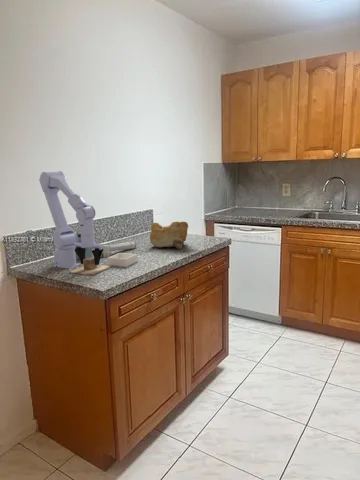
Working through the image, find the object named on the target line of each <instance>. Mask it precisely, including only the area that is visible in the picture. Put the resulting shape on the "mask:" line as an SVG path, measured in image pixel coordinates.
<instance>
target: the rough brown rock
mask: <svg viewBox="0 0 360 480" xmlns="http://www.w3.org/2000/svg"><path fill="white" fill-rule="evenodd" d="M188 229H189V223H188V222H186V221H173V222H171V224H169V225H167V226H162V225H161V224H160V223H158V222H152V223H151V227H150V233H149V242H150V244H151V245H152V246H154V247H156V248H171V247H174V248H175V249H179V250H181V249H182V248H183V246H185V242H186V240H187V237H188V236H187V235H188Z"/></svg>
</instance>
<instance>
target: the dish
mask: <svg viewBox="0 0 360 480" xmlns="http://www.w3.org/2000/svg"><path fill="white" fill-rule="evenodd" d="M138 258H139V257H138V254H137V253H130V252H129V253H125V252H117V253H116V254H113V255H110V256H109V257H107V266H111V267H112V266H113V267H123V268H124V267H125V268H127V267H129V266H132V265H134V264H135V263H137V262H138V261H139V259H138Z"/></svg>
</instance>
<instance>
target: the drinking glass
mask: <svg viewBox="0 0 360 480" xmlns="http://www.w3.org/2000/svg"><path fill="white" fill-rule="evenodd" d="M76 235H77V237H78V243H82V242H81V232H80V233H76ZM75 249H76V248H75ZM92 250H93V249H91V248H86V251H85V259H86V258H88V257H91V258H94V256H93V253H92ZM75 255H76V260H80V259H79V257H78V255H77V253H76V252H75Z"/></svg>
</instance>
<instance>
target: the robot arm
mask: <svg viewBox="0 0 360 480" xmlns="http://www.w3.org/2000/svg"><path fill="white" fill-rule="evenodd" d="M38 181H39V183H40V187H41V189H42V192H43V193H44V196H45V201H46V202H47V205H48V208H49V212H50V214H51V217H52V220H53V224H54V226H55V230H54V232H53V233H52V237H53V245H54V246H55V247H56V248H55V249H54V252H53V261H54V265H53V267H54V268H63V269H71V268H74V267H77V266H78V265H84V264H83V259H85V251H86V248H91V249H92V253H93V258H94V261H95V265H100V262H101V261H100V260H101V258H102V257H101V254H102V252H103V249H104V245H105V244H104V243H103V244H101V243H98V242H97V243H96V238H95V228H94V227H95V226H94V218H96V217H95V216H96V210H95V208H94V206H93V205H90V204H88V203H87V202H86V201H85V200H84V199H83V198H82V196H81V195H80V194H78V193H75V192H74V191H73V190H74V189H72V187H71V185H70V184H69V183H68V182H67V175H65V173H64V172H62V170H61V171H60V170H59V171H47V172H46V171H42V172H41V174H40V176H39V179H38ZM60 191H61V192H62V194H63V195H64V196H65V197H66V198H67V199H68V200H67V202H68V203H69V205H70V206H71V208H72V209H73V210H74V212H75V217H76V219H77V222H78V224H79V228H80V230H79V231H80V233H81V242H82V243H78V237H77V235H76V234H77V233H76V232H75V229H74V228H73V227H71V226H69V224H68V222H67V219H66V216H65V212H64V210H63V207H62V203H61V202H60V198H59V196H58V192H60ZM75 248H76V249H75ZM75 252H76V253H77V255H78V257H79V259H78V260H79V262H80V263H79V262H77V259H76V255H75ZM56 266H57V267H56Z"/></svg>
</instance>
